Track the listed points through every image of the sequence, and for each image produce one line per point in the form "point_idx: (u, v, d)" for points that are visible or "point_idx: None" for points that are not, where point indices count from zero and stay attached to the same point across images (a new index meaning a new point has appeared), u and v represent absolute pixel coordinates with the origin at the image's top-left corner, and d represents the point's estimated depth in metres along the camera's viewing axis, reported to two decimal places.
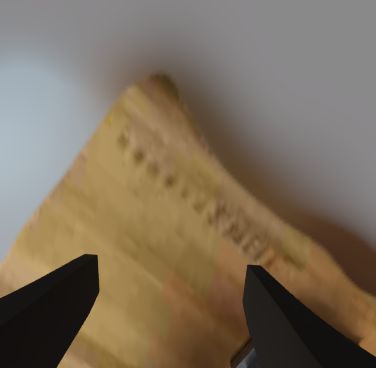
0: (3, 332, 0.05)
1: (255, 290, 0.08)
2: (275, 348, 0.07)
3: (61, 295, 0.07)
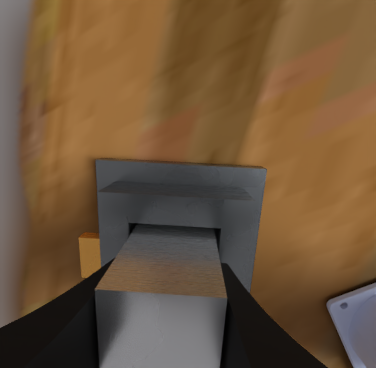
0: (63, 336, 0.05)
1: None
2: (227, 344, 0.07)
3: None
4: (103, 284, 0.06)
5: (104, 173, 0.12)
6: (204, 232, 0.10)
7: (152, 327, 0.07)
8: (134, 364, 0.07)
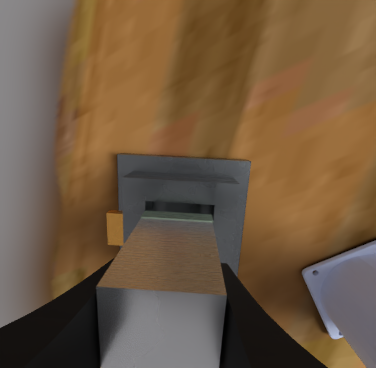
0: (63, 336, 0.05)
1: None
2: (227, 344, 0.07)
3: None
4: (104, 281, 0.07)
5: (124, 164, 0.16)
6: (204, 230, 0.10)
7: (153, 323, 0.07)
8: (135, 361, 0.07)
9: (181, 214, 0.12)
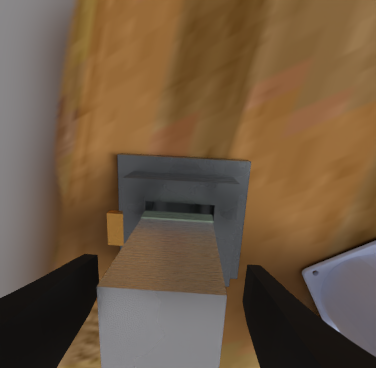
0: (3, 332, 0.05)
1: (255, 290, 0.08)
2: (275, 348, 0.07)
3: (61, 295, 0.07)
4: (105, 281, 0.07)
5: (124, 165, 0.16)
6: (204, 231, 0.10)
7: (153, 324, 0.07)
8: (136, 361, 0.07)
9: (181, 214, 0.12)
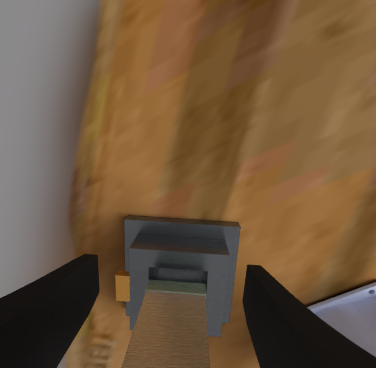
0: (3, 332, 0.05)
1: (255, 290, 0.08)
2: (275, 348, 0.07)
3: (61, 295, 0.07)
4: None
5: (130, 228, 0.18)
6: (197, 308, 0.13)
7: None
8: None
9: (179, 284, 0.15)
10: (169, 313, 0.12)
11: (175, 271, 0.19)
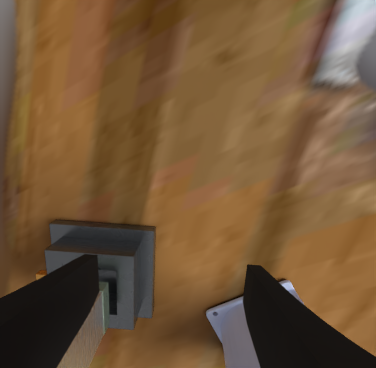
0: (3, 332, 0.05)
1: (255, 290, 0.08)
2: (275, 348, 0.07)
3: (61, 295, 0.07)
4: None
5: (55, 231, 0.20)
6: None
7: None
8: None
9: None
10: None
11: (99, 271, 0.21)
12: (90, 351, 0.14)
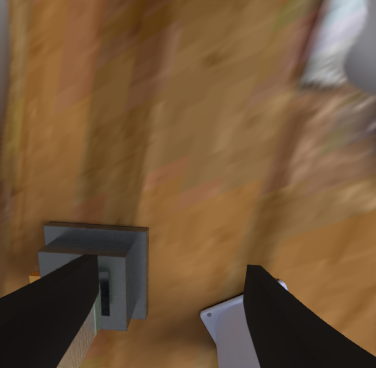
0: (3, 332, 0.05)
1: (255, 290, 0.08)
2: (275, 348, 0.07)
3: (61, 295, 0.07)
4: None
5: (49, 233, 0.20)
6: None
7: None
8: None
9: None
10: None
11: None
12: (80, 352, 0.15)
